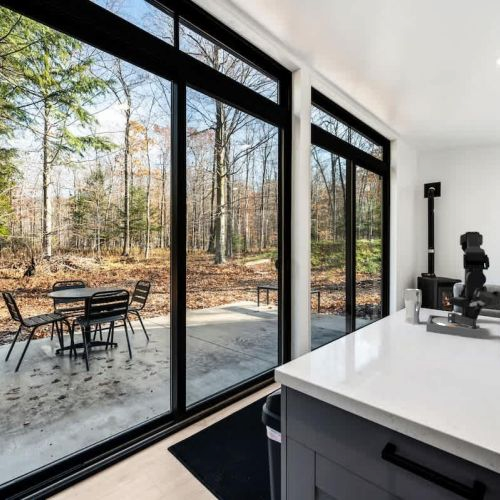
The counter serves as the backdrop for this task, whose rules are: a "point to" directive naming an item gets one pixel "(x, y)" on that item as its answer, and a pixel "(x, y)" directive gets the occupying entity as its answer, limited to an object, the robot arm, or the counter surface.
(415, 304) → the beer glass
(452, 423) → the counter surface
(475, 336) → the dial base
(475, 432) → the counter surface
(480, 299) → the robot arm
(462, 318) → the dial
